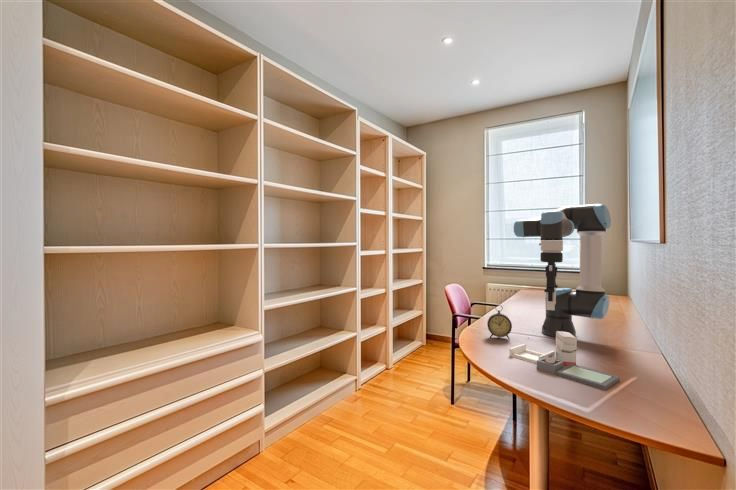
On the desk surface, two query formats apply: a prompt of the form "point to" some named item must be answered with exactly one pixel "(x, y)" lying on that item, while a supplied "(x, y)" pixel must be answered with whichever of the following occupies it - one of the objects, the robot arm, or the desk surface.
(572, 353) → the ink box
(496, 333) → the alarm clock
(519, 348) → the trough
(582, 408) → the desk surface
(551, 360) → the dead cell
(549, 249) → the robot arm
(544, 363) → the cup
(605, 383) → the base
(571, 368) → the pale green panel
